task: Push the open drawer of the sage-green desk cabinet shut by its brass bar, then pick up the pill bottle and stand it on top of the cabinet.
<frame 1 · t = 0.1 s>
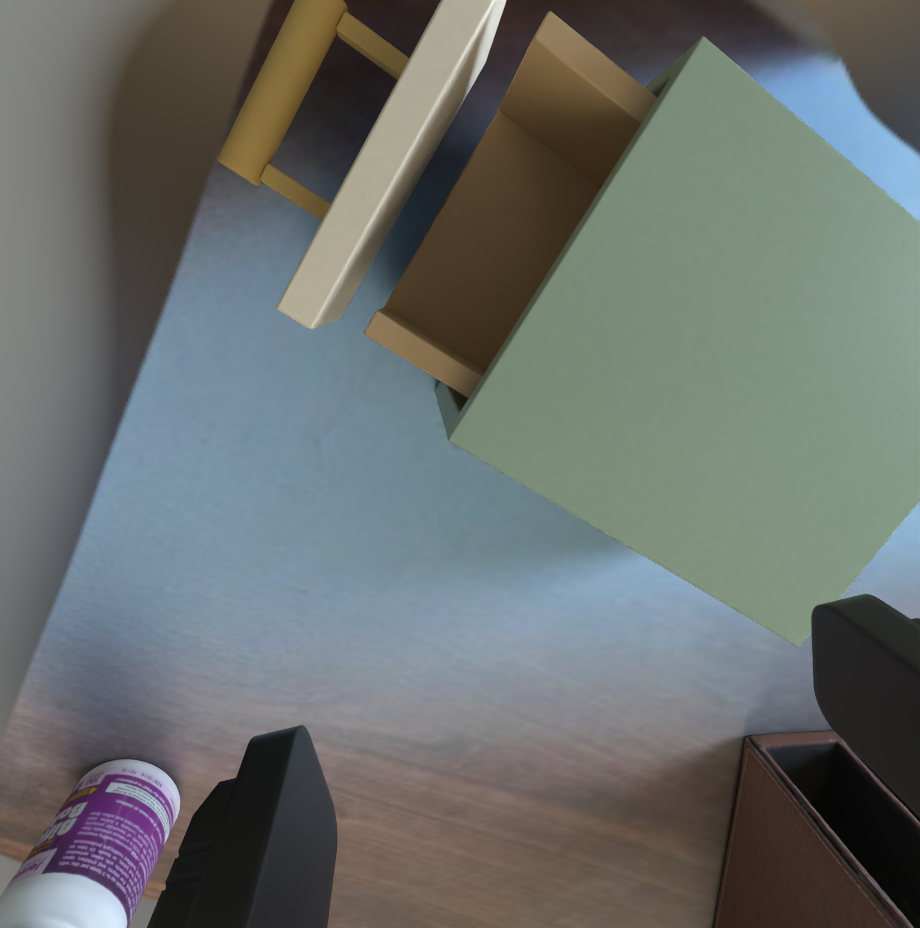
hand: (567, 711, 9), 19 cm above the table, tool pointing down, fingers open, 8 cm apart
cabinet: (640, 356, 27), on the table
drawer: (495, 236, 21), point 5 cm above the table, slide at 5.0 cm
pill bottle: (132, 793, 32), on the table
letter holder: (794, 857, 37), on the table
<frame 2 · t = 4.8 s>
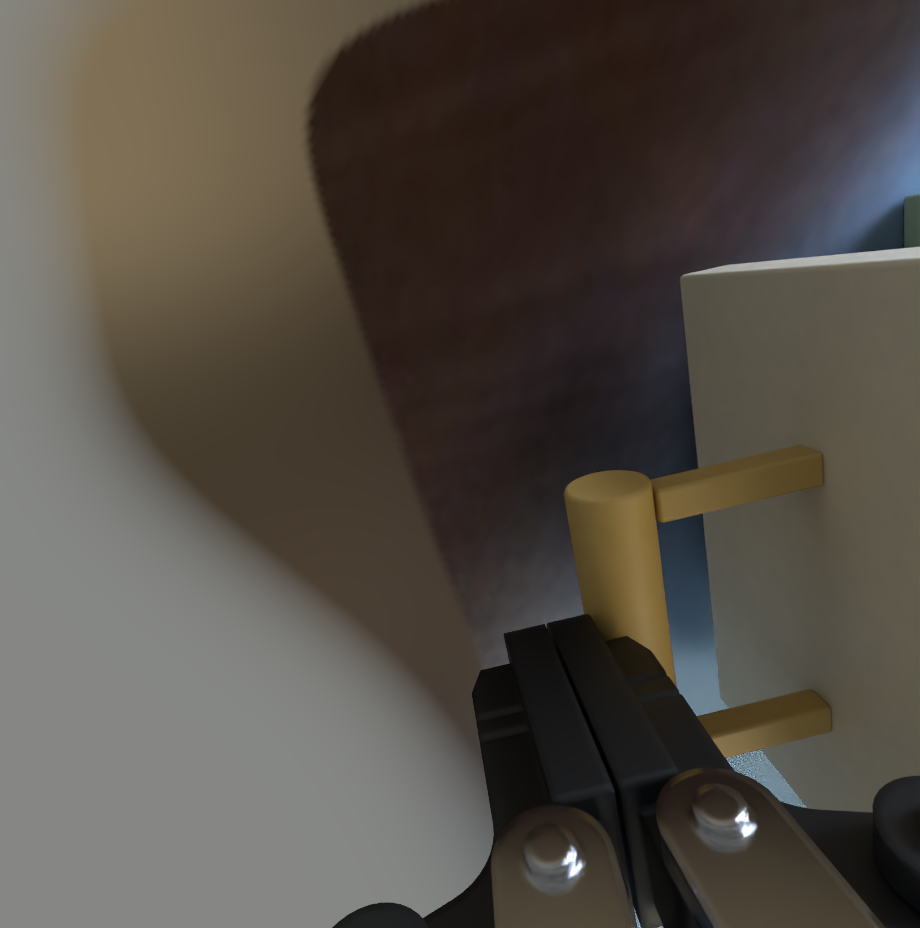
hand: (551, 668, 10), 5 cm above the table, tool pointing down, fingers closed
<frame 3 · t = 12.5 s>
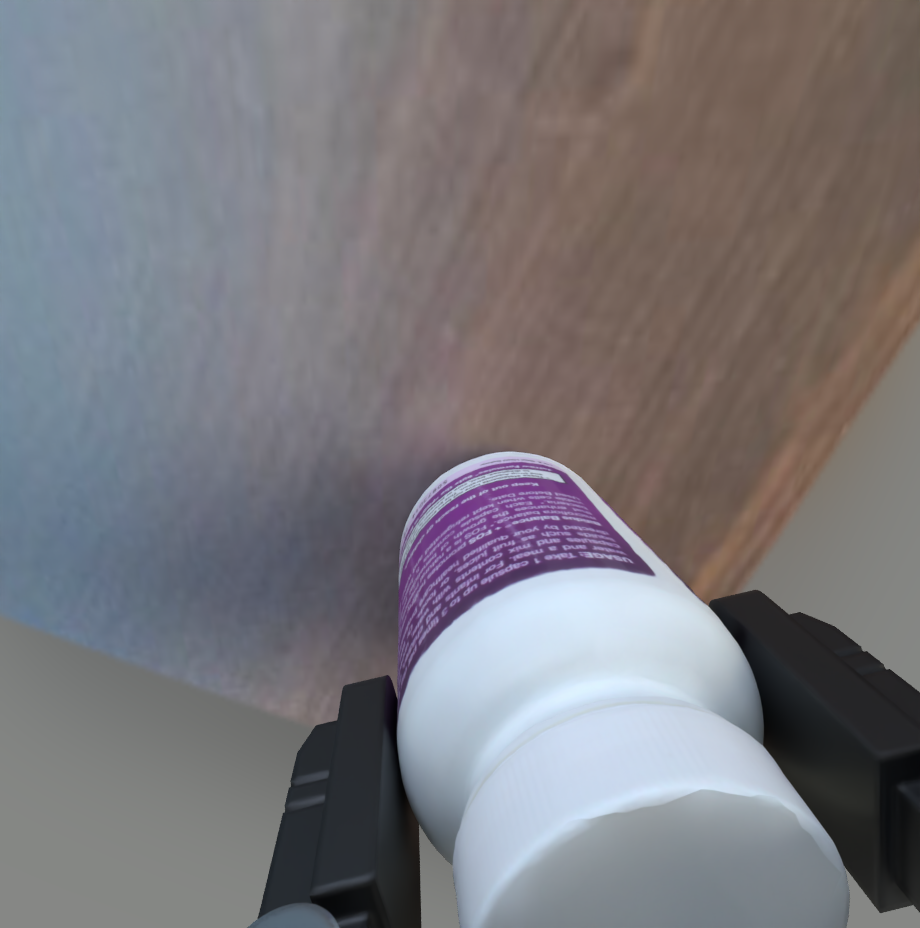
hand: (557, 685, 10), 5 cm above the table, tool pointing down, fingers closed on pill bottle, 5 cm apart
pill bottle: (503, 546, 15), on the table, touching gripper
when the fingers open (15 cm above the table, at t = 19.2 s): pill bottle stays where it is, resting on cabinet.
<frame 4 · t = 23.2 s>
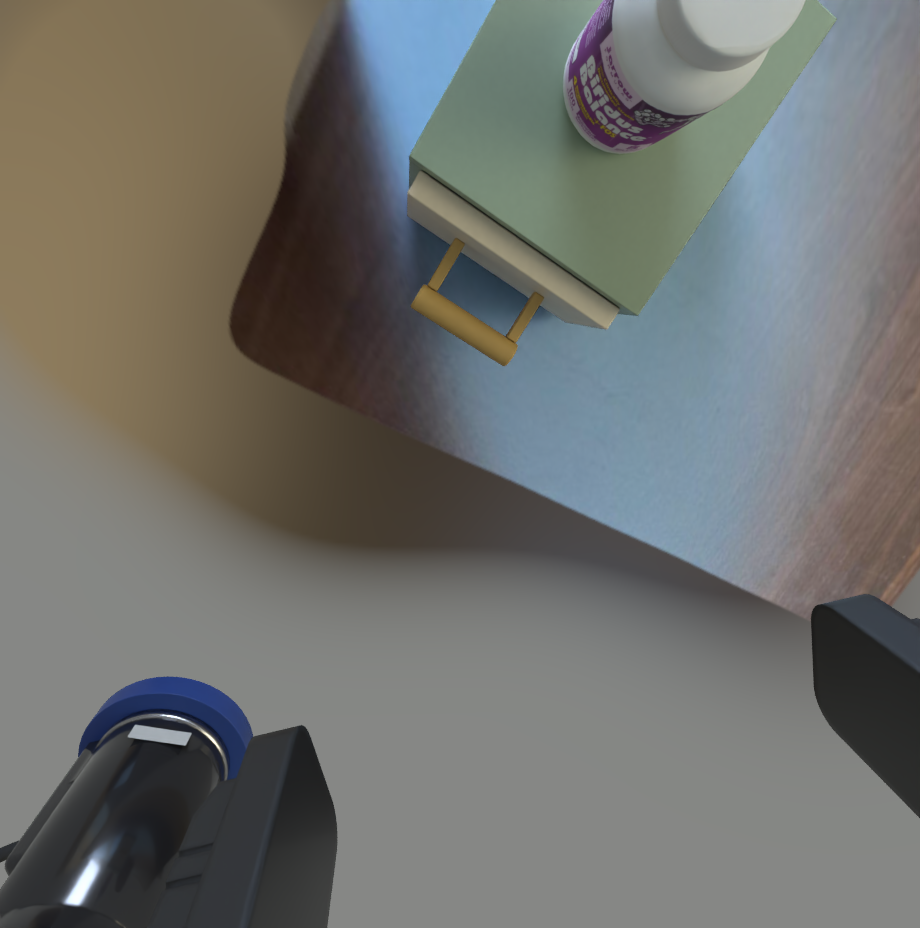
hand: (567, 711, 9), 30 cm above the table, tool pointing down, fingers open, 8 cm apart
cabinet: (565, 142, 35), on the table
drawer: (547, 188, 31), point 5 cm above the table, slide at 0.0 cm
pill bottle: (619, 90, 26), point 9 cm above the table, touching cabinet
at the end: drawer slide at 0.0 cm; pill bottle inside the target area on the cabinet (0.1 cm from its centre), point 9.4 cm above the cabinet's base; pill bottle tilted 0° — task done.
